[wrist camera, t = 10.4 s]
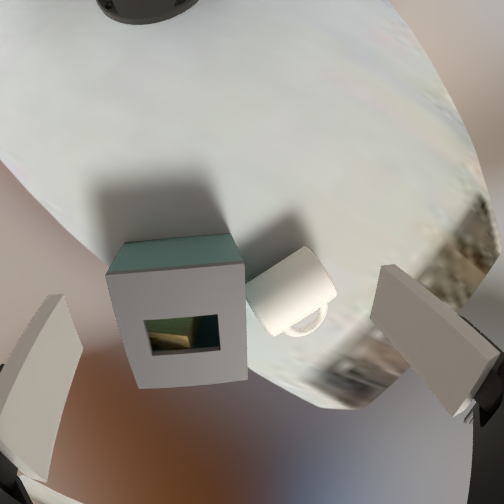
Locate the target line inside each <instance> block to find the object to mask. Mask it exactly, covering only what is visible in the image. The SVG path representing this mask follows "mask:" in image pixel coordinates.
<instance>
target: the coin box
mask: <svg viewBox="0 0 504 504" xmlns="http://www.w3.org/2000/svg"><path fill="white" fill-rule="evenodd" d="M105 276H106V281H107V285H108V289H109V293H110V297H111V301H112V305H113V309H114V313H115V317H116V320H117V324H118V327H119V331H120V334H121V338H122V341H123V344H124V347H125V350H126V353H127V356H128V360H129V363H130V365H131V368H132V371H133V374H134V377H135V379H136V382H137V385H138V387H139V389H147V388H168V387H182V386H195V385H206V384H215V383H224V382H232V381H240V380H247V379H248V371H247V335H246V296H245V263H244V261H243V259H242V257H241V254H240V252H239V250H238V248H237V246H236V244H235V242H234V239H233V237H232V235H231V234H219V235H206V236H193V237H181V238H170V239H158V240H147V241H136V242H125V243H124V244H123V246H122V247H121V249H120V251H119V252H118V254H117V256H116V258H115V259H114V261H113V263H112V264H111V266H110V268H109V270H108V272H107V273H106V275H105ZM194 316H202V318H201V322H200V325H199V329H198V333H197V336H196V340H195V343H194V347H193V349H184V350H165V349H158V348H152V347H151V344H150V340H149V336H148V331H147V327H146V323H145V320H156V319H170V318H182V317H194Z"/></svg>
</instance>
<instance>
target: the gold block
mask: <svg viewBox="0 0 504 504" xmlns="http://www.w3.org/2000/svg"><path fill="white" fill-rule="evenodd" d="M201 318H202V316H194V317H182V318H170V319H156V320H145V323H146V327H147V331H148V336H149V340H150V344H151V347H152V348H158V349H165V350H184V349H193V347H194V343H195V340H196V336H197V333H198V329H199V325H200V322H201Z"/></svg>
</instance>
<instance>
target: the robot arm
mask: <svg viewBox="0 0 504 504" xmlns="http://www.w3.org/2000/svg"><path fill="white" fill-rule="evenodd" d="M96 1H97V3H98V5H99V7H100V8H101V10H102V11H103V12H104V13H105V14H106V15H107V16H108V17H109V18H111V19H113V20H115V21H118V22H121V23H125V24H132V25H144V24H152V23H157V22H161V21H164V20H167V19H170V18H172V17H175V16H177V15H179V14H181V13H183V12H184V11H186V10H188V9H189V8H190V7H192V6H193V5H194V4H195V3H197V2H198V1H199V0H96ZM370 319H371V320H372V321H373V322H374V324H375V325H376V326H377V327H378V328H379V329H380V330H381V332H382V333H383V334H384V335H385V336H386V337H387V339H388V340H389V341H390V342H391V343H392V344H393V346H394V347H395V348H396V349H397V350H398V351H399V353H400V354H401V355H402V356H403V357H404V359H405V360H406V361H407V362H408V363H409V364H410V366H411V367H412V368H413V369H414V370H415V372H416V373H417V374H418V375H419V376H420V378H421V379H422V380H423V381H424V383H425V384H426V385H427V386H428V388H429V389H430V390H431V391H432V393H433V394H434V395H435V396H436V398H437V399H438V400H439V401H440V403H441V404H442V405H443V406H444V408H445V409H446V410H447V411H448V413H449V414H450V415H451V417H454V416H456V415H457V414H459V413H460V412H462V411H464V410H465V409H466V408H467V406H468V405H469V404H470V402H471V401H472V399H473V398H474V399H475V401H476V404H475V405H474V407H473V408H472V409H471V411H470V412H469V413H468V415H467V416H466V417H465V420H464V423H467V421H468V420H469V419H470V417H471V416H472V415H473V418H472V419H471V421H470V423H469V424H473V455H472V468H471V479H470V487H469V494H468V501H467V504H504V352H502V351H501V350H500V349H499V348H498V347H497V346H496V345H495V344H494V343H493V342H492V341H490V340H489V339H488V338H487V337H486V336H485V335H484V334H482V333H480V331H479V330H478V329H477V328H476V327H473V325H472V324H471V323H470V322H469V321H468V320H467V319H465V318H464V317H462V316H460V315H458V314H456V313H455V312H454V311H453V310H452V309H450V308H449V307H448V306H447V305H446V304H444V303H443V302H442V301H441V300H439V299H438V298H437V297H436V296H435V295H433V294H432V293H431V292H430V291H428V290H427V289H426V288H425V287H423V286H422V285H421V284H420V283H418V282H417V281H416V280H414V279H413V278H412V277H411V276H409V275H408V274H407V273H405V272H404V271H403V270H401V269H400V268H399V267H397V266H396V265H395V264H392V265H384V266H381V269H380V274H379V279H378V284H377V289H376V293H375V298H374V302H373V306H372V311H371V315H370ZM82 351H83V347H82V344H81V342H80V339H79V337H78V334H77V332H76V329H75V326H74V324H73V321H72V318H71V315H70V313H69V310H68V307H67V304H66V301H65V298H64V295H63V294H58V295H48V296H47V297H46V299H45V300H44V302H43V303H42V305H41V306H40V308H39V309H38V311H37V312H36V314H35V315H34V317H33V318H32V320H31V321H30V323H29V324H28V326H27V328H26V329H25V331H24V332H23V334H22V335H21V337H20V339H19V340H18V342H17V344H16V346H15V347H14V349H13V351H12V353H11V354H10V356H9V358H8V359H7V361H6V363H5V364H1V366H0V504H33V503H32V501H31V499H30V497H29V495H28V493H27V491H26V489H25V487H24V485H23V483H22V481H21V480H20V478H19V477H18V476H17V470H18V469H19V470H20V471H21V472H22V473H24V474H25V475H26V476H27V477H29V478H32V479H36V480H40V481H43V482H47V478H48V472H49V467H50V462H51V456H52V452H53V447H54V443H55V439H56V435H57V431H58V427H59V423H60V419H61V416H62V412H63V408H64V405H65V402H66V398H67V395H68V392H69V388H70V386H71V382H72V379H73V376H74V373H75V370H76V367H77V365H78V362H79V359H80V356H81V353H82Z"/></svg>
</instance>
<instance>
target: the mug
mask: <svg viewBox="0 0 504 504" xmlns="http://www.w3.org/2000/svg"><path fill="white" fill-rule="evenodd" d="M245 296H246V300H247V301H248V303H249V305H250V307H251V309H252V310H253V312H254V313H255V315H256V316H257V318H258V319H259V321H260V322H261V324H262V325H263V326H264V328H265V329H266V330H267V331H268V333H269V334H270V335H272V336H276V335H278V334H279V333H281V332H284V333H285V334H287V335H289V336H293V337H299V336H304V335H307V334H309V333H311V332H312V331H314V330H315V329H316V328H317V327H318V326H319V325H320V324H321V322H322V321H323V319H324V318H325V316H326V314H327V311H328V302H329V301H330V300H332V299H333V298H335V297H336V296H337V291H336V288H335V286H334V284H333V282H332V280H331V278H330V276H329V275H328V273H327V271H326V270H325V268H324V267H323V265H322V264H321V262H320V261H319V260H318V258H317V257H316V256H315V255H314V253H313V252H312V251H311V250H310V249H309V248H308V247H306V246H303V247H302V248H300V249H299V250H297V251H296V252H294V253H293V254H291V255H289V256H288V257H286V258H285V259H283V260H282V261H280V262H279V263H277V264H276V265H274V266H273V267H271V268H269V269H268V270H266V271H265V272H263V273H262V274H260V275H259V276H257V277H256V278H254V279H252V280H251V281H249V282H248V283H246V284H245ZM318 308H319V314H318V316H317V317H316V318H315V319H314V320H313V321H312V322H310V323H309V324H308V325H306V326H305V327H303V328H300V329H297V328H294V327H293V326H292V325H294V324H295V323H297V322H299V321H300V320H302V319H303V318H305V317H306V316H308V315H309V314H311V313H312V312H314V311H315V310H317V309H318Z"/></svg>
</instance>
